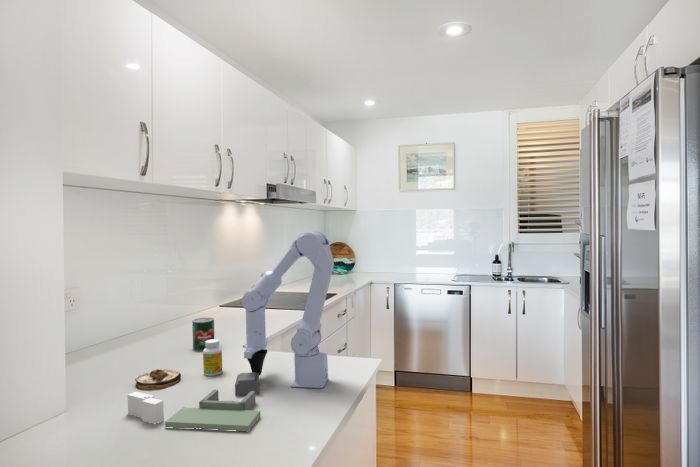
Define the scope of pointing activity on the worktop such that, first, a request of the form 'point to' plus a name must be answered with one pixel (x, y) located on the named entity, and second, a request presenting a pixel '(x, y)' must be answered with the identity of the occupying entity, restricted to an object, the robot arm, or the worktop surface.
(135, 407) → the white stepped block
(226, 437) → the worktop surface
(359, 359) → the worktop surface
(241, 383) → the dark grey block
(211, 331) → the canned tomato
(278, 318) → the worktop surface
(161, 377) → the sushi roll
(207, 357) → the supplement bottle
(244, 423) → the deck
